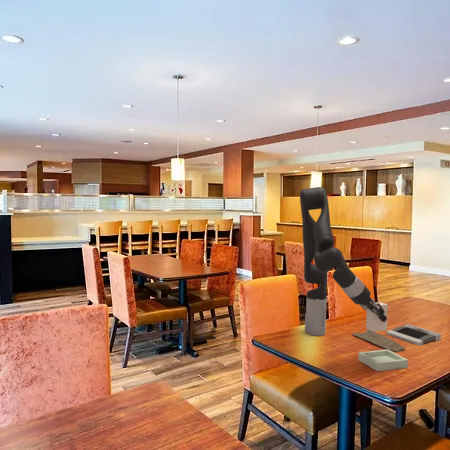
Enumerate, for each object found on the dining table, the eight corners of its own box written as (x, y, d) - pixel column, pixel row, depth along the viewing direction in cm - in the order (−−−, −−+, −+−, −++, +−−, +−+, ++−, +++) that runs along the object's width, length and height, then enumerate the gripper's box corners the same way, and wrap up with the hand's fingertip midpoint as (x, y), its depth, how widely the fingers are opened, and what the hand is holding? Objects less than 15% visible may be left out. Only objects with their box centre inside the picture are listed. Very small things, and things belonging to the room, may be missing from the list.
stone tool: (350, 336, 189) (392, 354, 166) (350, 330, 189) (392, 348, 166) (368, 333, 194) (410, 351, 171) (368, 327, 194) (411, 344, 171)
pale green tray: (358, 359, 159) (358, 352, 159) (387, 356, 163) (387, 349, 163) (376, 371, 148) (377, 363, 148) (407, 367, 152) (407, 359, 152)
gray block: (366, 328, 156) (366, 303, 155) (380, 327, 157) (381, 302, 157) (372, 331, 152) (373, 305, 151) (386, 330, 154) (387, 304, 153)
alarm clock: (441, 334, 184) (419, 336, 176) (440, 343, 184) (418, 347, 176) (408, 323, 199) (386, 326, 191) (407, 333, 199) (385, 335, 191)
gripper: (338, 292, 157) (364, 320, 161) (360, 301, 144) (387, 331, 147) (350, 278, 158) (375, 307, 162) (373, 285, 145) (400, 316, 149)
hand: (381, 318), depth 155 cm, fingers closed on gray block, 4 cm apart
